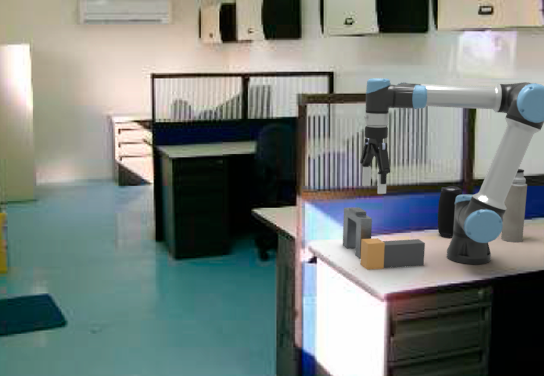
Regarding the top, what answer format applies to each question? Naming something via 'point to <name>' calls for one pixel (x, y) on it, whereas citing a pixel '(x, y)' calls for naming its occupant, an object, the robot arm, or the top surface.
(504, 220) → the thermos bottle
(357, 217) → the housing
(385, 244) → the grey and orange block
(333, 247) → the top surface
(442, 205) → the portable speaker
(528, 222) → the top surface
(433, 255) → the top surface
